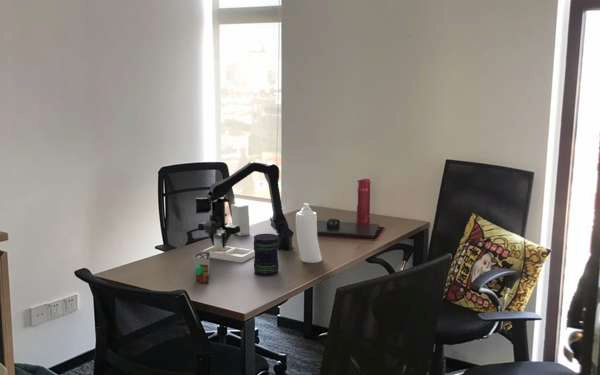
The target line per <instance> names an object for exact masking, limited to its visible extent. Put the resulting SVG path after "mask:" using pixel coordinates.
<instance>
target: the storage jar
mask: <svg viewBox="0 0 600 375" xmlns="http://www.w3.org/2000/svg"><path fill="white" fill-rule="evenodd" d="M277 235H278V234H275V233H274V234H273V233H258V234H256V235H254V236H253V250H254V251H255V256H254V260H253V270H254V272H253V273H254V275H255V276H257V277H263V278H265V277H266V278H268V277H270V278H271V277H275V276H276V275H278V274H279V259H278V256H279V255H278V254H279V253H278V251H279V249H278V236H277Z"/></svg>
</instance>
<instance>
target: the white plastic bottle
mask: <svg viewBox="0 0 600 375" xmlns="http://www.w3.org/2000/svg"><path fill="white" fill-rule="evenodd" d="M317 217H318V216H317V212H315V211H313V210H312V208H311V207H310V203H307V202H304V203H303V206H302V208H301V209H300V210H299V211H298V212H296V213H295V230H296V231H295V232H296V240H297V246H298V252H299V256H300V259H301V261H302V262H304V263H309V264H310V263H311V264H314V263H320V262H322V261H323V257H322V253H321V249H320V245H319V244H320V243H319V239H318V224H317V222H318V221H317V219H318V218H317Z"/></svg>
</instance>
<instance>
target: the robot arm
mask: <svg viewBox="0 0 600 375" xmlns="http://www.w3.org/2000/svg"><path fill="white" fill-rule="evenodd" d="M254 172H258V173H262V174H263V176H264V178H265V180H266V182H267V185H268V190H269V195H270V201H271V209H272V213H273V214H272V217H269V221H270V227H271V228H272V229H273V230H274V231H275V233H276V235H277V236H278V251H279V250H281V251H287V252H288V251H289V250H292V249H293V248H294V246H293V236H294V231H292V230H291V229H290V228H289V224H288V220H287V219H286V216H285V214H284V213H283V212H284V210H283V205H282V199H281V198H282V197H281V193H280V186H279V180H280V168H279V166H278V165H277V164H275V163H272V162H267V163H262V162H256V161H253V160H252V161H248V163H247V164H246V165H244V166H242V167H241V168H239V169H238V170H237V171H235V172H234V173H233V174H230V176H228V177H225V179H224V178H223V179H221V180H218V181H216V182H213V183H212V184H211V185H210V188H209V189H210V190H209V191H208V193H207V194H206V195H205V197H194V203H193V212H194V214H195V215H196V214H197V215H198V214H208V213H209V212H211V214H210V216H209V219H208V220H207V221H202V222H199V223H198V224H197V230H198V231H204V233H206V234H207V235H208V237H209V238H210V240H211V243H212V246H214V238H213V234H217V233H218V231H223V232H222V234H221V235H222V245H223V248H224V247H225V246H227V243H228V241H229V239H230V236H231V235H237V234H236V233H238V232H240V227H239V226H238V225H232V224H231V225H228V222H226V217H227V215H228V213H226V203H229V202H230V200H229V199H228V198H227V196H226V195H227V194H228V193H229V192H230V190H231V189H232V188H233V187H234V186H235V185H237V184H238V183H240V182H241V181H243V180H244V179H245V178H247V177H248V176H250V175H251V174H253V173H254ZM227 225H228V226H227Z"/></svg>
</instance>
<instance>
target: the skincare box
mask: <svg viewBox="0 0 600 375" xmlns="http://www.w3.org/2000/svg"><path fill="white" fill-rule="evenodd" d="M230 206H231V210H230V211H231V225H238V226H239V227H240V232H238V233H236V234H235V235H238V236H249V235H250V230H251V229H250V216H249V205H248V204H245V203H241V202H239V203H234V204H231V205H230Z"/></svg>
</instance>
